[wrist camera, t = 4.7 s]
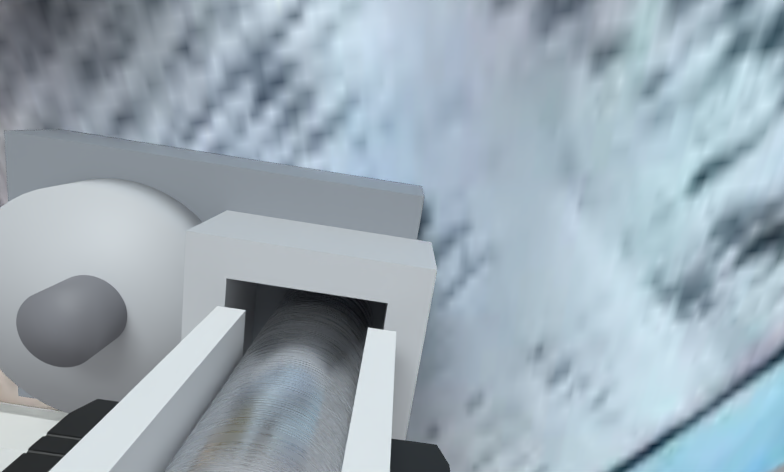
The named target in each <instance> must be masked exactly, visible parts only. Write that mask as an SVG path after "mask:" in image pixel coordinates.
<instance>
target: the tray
mask: <svg viewBox="0 0 784 472" xmlns="http://www.w3.org/2000/svg"><path fill="white" fill-rule="evenodd" d="M68 414H69V413H66V412H62V411H56V410H49V409H43V408H36V407H30V406H23V405H16V404H10V403H3V402H0V472H2V471H3V470H4V469H5V468H6V467H8V466H9V465H10V464H11V463H12V462H13V461H15V460H16V459H17V458H18V457H19V456H20V455H21V454H23V453H27V451H28V448H30V447H31V446H32V445H33V444H34V443H35V442H36V441H38V440H39V439H40V438H41V437H42V436H46V435H47V432H48V431H49V430H50V429H51V428H53V427H54V426H55V425H56V424H57V423H58V422H59V421H61V420H62V419H63V418H64V417H65V416H66V415H68Z"/></svg>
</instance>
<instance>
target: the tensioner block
mask: <svg viewBox="0 0 784 472" xmlns="http://www.w3.org/2000/svg"><path fill="white" fill-rule="evenodd" d="M4 135H5V154H6V172H7V191H8V202H7V203H6V204H5V205H3V206H2V207H1V208H0V369H1V370H2V372H3V373H4V374H5V375H6V376H7V377H8V378H9V379H11V380H12V381H13V382H14V383H15V384H16V385H17V386H18V394H19V396H23V397H29V398H36V399H38V400H39V401H41V402H43V403H45V404H47V405H49V406H51V407H53V408H56V409H58V410H60V411H63V412H66V413H70V412H72V411H74V410H76V409H78V408H80V407H82V406H84V405H86V404H88V403H90V402H92V401H94V400H96V399H103V400H110V401H117V402H120V401H121V400H122V399H123V398H124V397H125V396H126V395H127V394H128V393H129V392H130V391H131V390H132V389H133V388H134V387H135V386H136V385H137V384H138V383H139V382H140V381H141V380H142V379H143V378H144V377H145V376H147V375H148V374H149V373H150V372H151V371H152V370H153V369H154V368H155V367H156V366H157V365H158V364H159V363H160V362H161V361H162V360H163V359H164V358H165V357H166V356H167V355H168V354H169V353H170V352H171V351H172V350H173V349H174V348H175V347H176V346H177V345H178V344H179V343H180V342H181V341H182V340H183V339H184V338H185V337H186V336H187V335H188V334H189V333H190V332H191V331H192V330H193V329H194V328H195V327H196V326H197V325H198V324H199V323H200V322H202V321H203V320H204V319H205V318H206V317H207V316H208V315H209V314H210V313H211V312H212V311H213V310H214V309H215V308H216V307H217V306H221V307H228V308H235V309H242V310H246V313H245V328H244V343H243V356H244V354H245V353H246V351H247V350H248V348H249V347H250V346H251V344H252V343H253V341H254V340H255V338H256V337H257V335H258V334H259V332H260V331H261V330H262V328H263V327H264V325H265V324H266V322H267V321H268V319H269V318H270V316H271V315H272V314H273V312H274V311H275V309H276V308H277V306H278V305H279V303H280V302H281V301H282V299H283V298H284V296H285V295H286V293H287V292H288V291H289V290H290V289H291V288H292V289H299V290H305V291H312V292H318V293H325V294H331V295H338V296H344V297H350V298H357V299H363V300H367V302H368V304H369V306H370V309H371V312H372V318H373V326H372V328H375V329H382V330H389V331H396V349H395V371H394V392H393V413H392V435H391V439H398V440H406V434H407V429H408V424H409V418H410V413H411V408H412V402H413V397H414V392H415V386H416V381H417V376H418V370H419V365H420V359H421V354H422V349H423V343H424V338H425V333H426V327H427V322H428V317H429V311H430V306H431V301H432V295H433V290H434V285H435V279H436V274H437V266H436V262H435V257H434V252H433V247H432V243H431V242H427V241H421V240H417V236H418V231H419V225H420V219H421V213H422V207H423V202H424V193H423V189H422V186H417V185H411V184H404V183H398V182H392V181H385V180H379V179H372V178H366V177H360V176H353V175H347V174H341V173H334V172H328V171H321V170H315V169H309V168H302V167H296V166H290V165H283V164H277V163H271V162H264V161H258V160H251V159H245V158H239V157H232V156H226V155H220V154H213V153H207V152H201V151H194V150H188V149H181V148H175V147H169V146H162V145H156V144H150V143H143V142H137V141H131V140H124V139H118V138H111V137H105V136H99V135H92V134H86V133H80V132H73V131H67V130H60V129H56V130H14V131H4Z"/></svg>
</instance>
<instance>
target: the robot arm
mask: <svg viewBox="0 0 784 472" xmlns="http://www.w3.org/2000/svg"><path fill="white" fill-rule="evenodd" d="M245 313H246V310H242V309H235V308H228V307H221V306H217V307H216V308H215V309H214V310H213V311H212V312H211V313H210V314H209V315H208V316H207V317H206V318H205V319H204V320H203V321H202V322H200V323H199V324H198V325H197V326H196V327H195V328H194V329H193V330H192V331H191V332H190V333H189V334H188V335H187V336H186V337H185V338H184V339H183V340H182V341H181V342H180V343H179V344H178V345H177V346H176V347H175V348H174V349H173V350H172V351H171V352H170V353H169V354H168V355H167V356H166V357H165V358H164V359H163V360H162V361H161V362H160V363H159V364H158V365H157V366H156V367H155V368H154V369H153V370H152V371H151V372H150V373H149V374H148V375H147V376H145V377H144V378H143V379H142V380H141V381H140V382H139V383H138V384H137V385H136V386H135V387H134V388H133V389H132V390H131V391H130V392H129V393H128V394H127V395H126V396H125V397H124V398H123V399H122V400H121V401H120V402H117V401H110V400H103V399H96V400H94V401H92V402H90V403H88V404H86V405H84V406H82V407H80V408H78V409H76V410H74V411H72V412H70V413H69V414H68V415H66V416H65V417H64V418H63V419H62V420H61V421H59V422H58V423H57V424H56V425H55V426H54V427H53V428H51V429H50V430H49V431H48V432H47V435H46V436H42V437H41V438H40V439H39V440H38V441H36V442H35V443H34V444H33V445H32V446H31V447H30V448H28V451H27V453H23V454H21V455H20V456H19V457H18V458H17V459H16V460H15V461H13V462H12V463H11V464H10V465H9V466H8V467H6V468H5V469H4V470H3V471H2V472H164V470H165V469H166V467H167V466H168V465H169V463H170V462H171V460H172V459H173V457H174V456H175V454H176V453H177V452H178V450H179V449H180V447H181V446H182V444H183V443H184V441H185V440H186V438H187V437H188V436H189V434H190V433H191V431H192V430H193V428H194V427H195V425H196V424H197V422H198V421H199V420H200V418H201V417H202V415H203V414H204V412H205V411H206V409H207V408H208V406H209V405H210V404H211V402H212V401H213V399H214V398H215V396H216V395H217V393H218V392H219V391H220V389H221V388H222V386H223V385H224V383H225V382H226V380H227V379H228V377H229V376H230V375H231V373H232V372H233V370H234V369H235V367H236V366H237V364H238V363H239V361H240V360H241V359H242V357H243V343H244V328H245ZM395 349H396V331H389V330H382V329H375V328H368V331H367V336H366V341H365V347H364V352H363V358H362V363H361V368H360V374H359V379H358V385H357V390H356V396H355V401H354V406H353V412H352V417H351V423H350V428H349V433H348V439H347V444H346V450H345V455H344V461H343V466H342V471H341V472H450V467H449V464H448V462H447V461H446V459H445V457H444V456H443V454H442V453H441V451H440V449H439V448H438V446H437V445H433V444H426V443H419V442H412V441H405V440H398V439H391V435H392V413H393V392H394V371H395Z"/></svg>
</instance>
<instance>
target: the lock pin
mask: <svg viewBox="0 0 784 472" xmlns="http://www.w3.org/2000/svg"><path fill="white" fill-rule="evenodd" d="M372 326H373V318H372V312H371V309H370V306H369V304H368V302H367V300H363V299H357V298H350V297H344V296H338V295H331V294H325V293H318V292H312V291H305V290H299V289H292V288H291V289H290V290H289V291H288V292H287V293H286V295H285V296H284V298H283V299H282V301H281V302H280V303H279V305H278V306H277V308H276V309H275V311H274V312H273V314H272V315H271V316H270V318H269V319H268V321H267V322H266V324H265V325H264V327H263V328H262V330H261V331H260V332H259V334H258V335H257V337H256V338H255V340H254V341H253V343H252V344H251V346H250V347H249V348H248V350H247V351H246V353H245V354H244V356H243V357H242V359H241V360H240V361H239V363H238V364H237V366H236V367H235V369H234V370H233V372H232V373H231V375H230V376H229V377H228V379H227V380H226V382H225V383H224V385H223V386H222V388H221V389H220V391H219V392H218V393H217V395H216V396H215V398H214V399H213V401H212V402H211V404H210V405H209V406H208V408H207V409H206V411H205V412H204V414H203V415H202V417H201V418H200V420H199V421H198V422H197V424H196V425H195V427H194V428H193V430H192V431H191V433H190V434H189V436H188V437H187V438H186V440H185V441H184V443H183V444H182V446H181V447H180V449H179V450H178V452H177V453H176V454H175V456H174V457H173V459H172V460H171V462H170V463H169V465H168V466H167V467H166V469H165V470H164V472H341V471H342V466H343V461H344V455H345V450H346V444H347V439H348V433H349V428H350V423H351V417H352V412H353V406H354V401H355V396H356V390H357V385H358V379H359V374H360V368H361V363H362V358H363V352H364V347H365V341H366V336H367V331H368V328H372Z"/></svg>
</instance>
